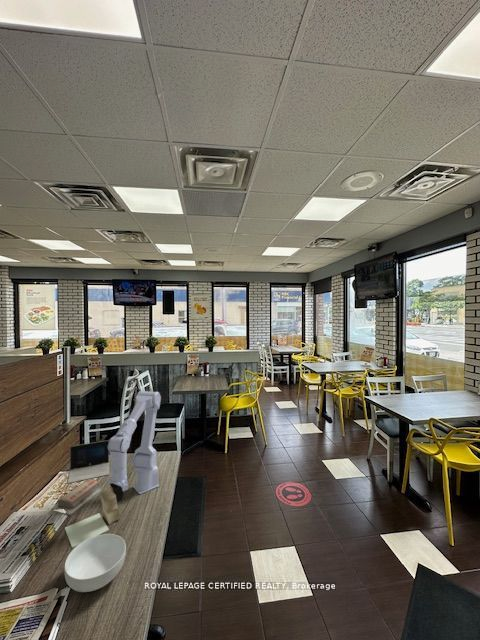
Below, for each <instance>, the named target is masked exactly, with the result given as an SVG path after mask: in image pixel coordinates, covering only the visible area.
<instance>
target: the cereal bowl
mask: <svg viewBox="0 0 480 640" xmlns="http://www.w3.org/2000/svg"><path fill="white" fill-rule="evenodd" d="M126 553H127V546H126V541H125V540H124V538H122V537H121V536H120V535H117V534H113V533H103V534H101V535H97V536H94V537H91V538H89V539H87V540H85V541H83V542H82V543H80V544H79V545H78V546H75V547H73V548H72V550H71V551H70V553H69V554H68V556H67V557H66V559H65V563H64V570H63V571H64V578H65V581H66V584H67V585H68V586H69V587H70V589H72V590H74V591H75V592H79V593H87V592H93V591H97V590H99V589H102V588H103V587H105V586H107V585H108V584H109V583H110V582H112V581H114V579H115V577H117V575H118V574H119V573H120V571H121V569H122V568H123V565H124V563H125V560H126Z"/></svg>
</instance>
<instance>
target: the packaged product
mask: <svg viewBox="0 0 480 640" xmlns="http://www.w3.org/2000/svg"><path fill="white" fill-rule="evenodd" d="M103 489H104V487H101V486H100V482H99V481H98V480H97V479H94V478H91V479H86V480H83V482H82V483H80V484H79V485H77V486H76V487H74V488H73V489H71V490H70V491H69V492H67V493H66V494H64V495H63V496H62V497H60V498H58V501H57V503H56V504H55V505H53V506H52V507H51V508H50V509H51V510H52V509H64V510H65V511H66V513H67V514H66V515H68V516H71V515H73V513H74V514H75V512H76V511H77V510H79V508H81V507H82V506H83V505H85V504H86V503H88V502H89V501H90V500H92V499H93V498H94V497H95V496H96V495H97V494H100V493H101V491H103Z"/></svg>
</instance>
